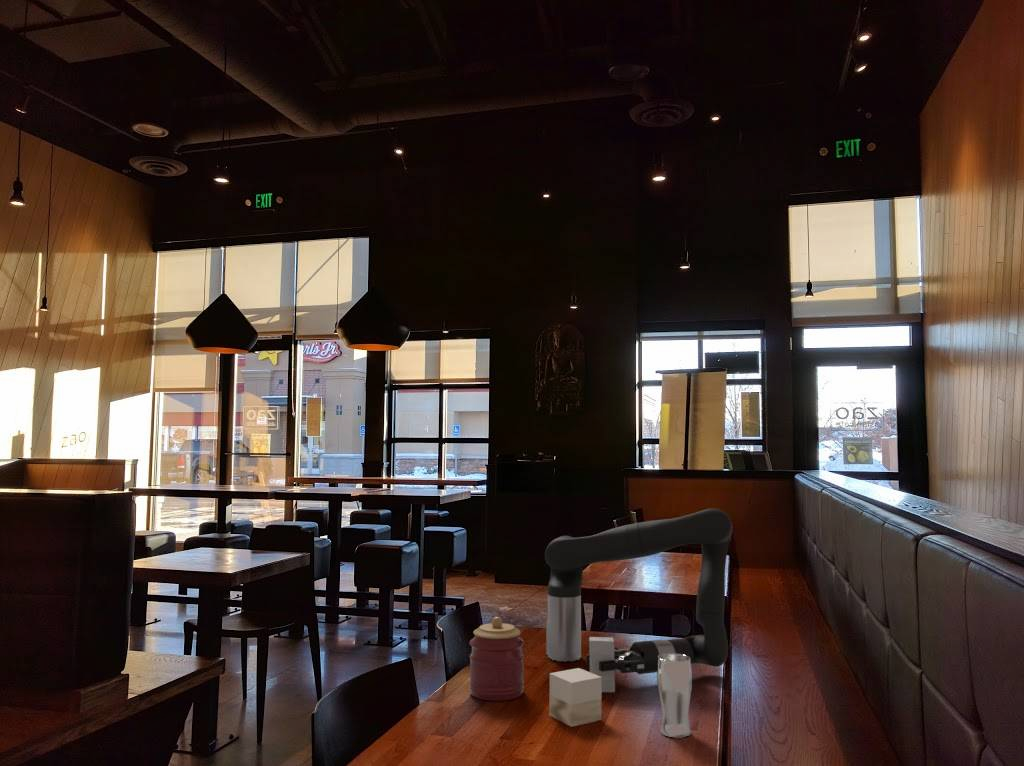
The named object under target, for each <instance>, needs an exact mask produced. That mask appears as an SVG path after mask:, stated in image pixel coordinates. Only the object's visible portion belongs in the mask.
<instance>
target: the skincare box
mask: <svg viewBox="0 0 1024 766" xmlns="http://www.w3.org/2000/svg"><path fill="white" fill-rule="evenodd" d="M588 643H589V644H588V645H589V647H588V648H589V652H588V654H589V655H590V664H589V672H590V673H593V674H595V675H598V676H600V677H602V693H615V692H616V675H615V674H616V671H615V669H614V670H612V671H603V672H602V671H600V670H599V662H600V661H608V660H614V647H615V640H614V637H606V636H589V637H588Z"/></svg>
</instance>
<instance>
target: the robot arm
mask: <svg viewBox="0 0 1024 766" xmlns="http://www.w3.org/2000/svg"><path fill="white" fill-rule="evenodd" d="M733 529H734V526H733V522H732V521H731V518H730V517H729V515H728V514H727V513H726V512H725V511H724V510H721V509H719V508H715V507H713V508H712V507H711V508H707V509H703V510H700V511H696V512H693V513H690V514H687V515H682V516H679V517H673V518H665V519H656V520H654V519H653V520H647V521H641V522H635V523H631V524H625V525H621V526H617V527H614V528H610V529H607V530H605V531H602V532H600V533H596V534H593V535H589V536H588V535H587V536H581V537H579V536H578V537H572V536H571V535H562V536H559V537H556V538H554V539H553V540H552V541H550V542H549V544H548V545H547V546H546V548H545V551H544V560H545V562H546V564H547V565H548V566H549V567H550V575H549V576H550V577H549V581H548V585H547V620H546V625H545V627H546V629H545V630H546V631H545V632H546V635H545V636H546V638H545V640H546V641H545V647H546V649H545V653H546V654H547V655H548V656H547V655H546V656H547V658H548V657H549V658H550V659H549V658H548V659H549V660H551V659H552V660H551V661H554V660H556V662H562V661H563V662H564V663H565V662H566V663H567V661H570V662H575V661H576V660H577V661H579V660H581V659H582V600H581V599H582V595H581V594H582V584H583V566H586V565H591V564H595V563H602V562H603V563H604V562H616V561H625V560H634V559H638V558H640V559H641V558H644V557H650V556H655V555H656V554H657V555H658V554H660V553H664V552H666V551H668V550H672V549H674V548H677V547H680V546H686V545H695V544H701V545H700V546H701V547H700V548H701V564H700V565H701V567H700V573H699V579H698V584H697V593H696V610H695V619H696V623H698V624H699V625H700V626H701V627H702V628H703V634H697V635H696V634H695V635H690V636H686V637H682V638H672V639H654V640H643V641H635V642H633V643H632V644H631V645H630V647H629V649H627V648H621V649H619V647H617V646H614V660H608V661H600V662H599V670H600V671H602V672H603V671H612V670H614V669H615V672H620V673H621V674H628V673H636V674H638V675H645V674H646V675H647V674H655V673H657V666H658V656H659V655H661V654H666V653H676V654H683V655H686V656H688V657H690V662H691V665H692V664H702V665H705V666H706V665H707V666H710V667H720V666H722V665H723V664H724V663H725V662H726V661H727V658H728V654H729V643H728V638H727V630H726V626H725V623H724V622H725V621H724V619H725V618H724V617H725V601H726V600H725V598H726V597H725V596H726V591H725V589H726V581H725V580H726V564H727V563H726V562H727V556H728V550H729V545H730V541H731V536H732V535H733V532H734V531H733ZM580 658H581V659H580ZM563 662H562V663H563ZM585 663H586V664H587V665H590V655H589V653H588V654H585Z"/></svg>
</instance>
